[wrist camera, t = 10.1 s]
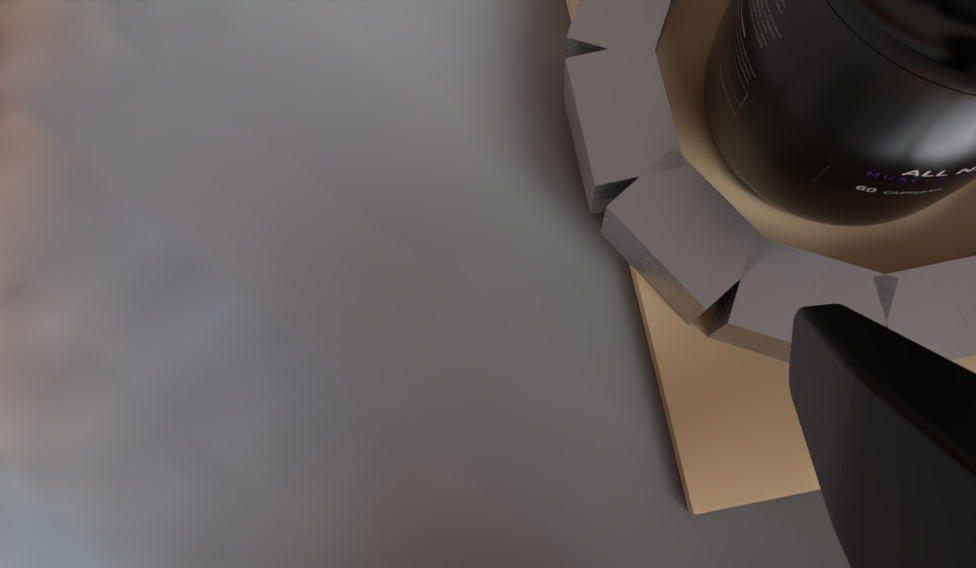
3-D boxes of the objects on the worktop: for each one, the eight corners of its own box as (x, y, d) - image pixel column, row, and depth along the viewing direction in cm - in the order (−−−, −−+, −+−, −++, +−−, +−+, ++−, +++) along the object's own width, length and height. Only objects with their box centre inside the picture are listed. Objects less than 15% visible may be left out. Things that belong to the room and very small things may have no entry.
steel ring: (1217, 305, 19) (1308, 286, 17) (638, 423, 20) (650, 421, 18) (1028, -194, 22) (1085, -270, 20) (521, -79, 23) (518, -141, 20)
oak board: (1280, 393, 20) (1310, 391, 19) (688, 512, 20) (694, 515, 19) (1031, -253, 23) (1048, -277, 22) (532, -139, 24) (531, -159, 23)
